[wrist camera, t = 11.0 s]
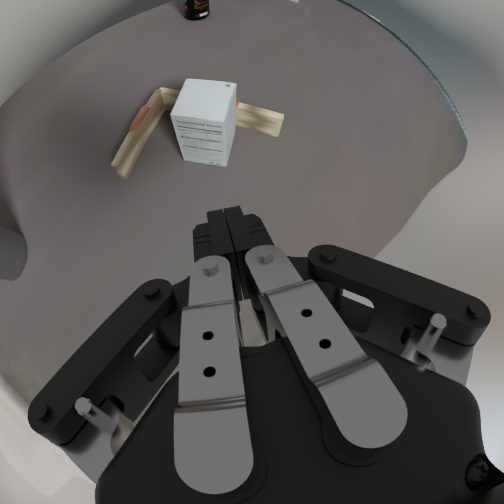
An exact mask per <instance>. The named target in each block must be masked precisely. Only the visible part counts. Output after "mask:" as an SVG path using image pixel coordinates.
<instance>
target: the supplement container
mask: <svg viewBox="0 0 504 504" xmlns="http://www.w3.org/2000/svg"><path fill="white" fill-rule="evenodd" d="M183 6H184V15H185V18H187V19H188V20H201V19H204V18H206V17H207V16H208V15H209V13H210V12H209V0H183Z"/></svg>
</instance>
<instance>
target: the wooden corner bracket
mask: <svg viewBox="0 0 504 504" xmlns="http://www.w3.org/2000/svg"><path fill="white" fill-rule="evenodd" d="M180 91H181V90H176V89H169V88H162V87H161V88H160V89H159V90H158V89H156V90H155V92H154V93H153V95H152V96H151V98H150V99H149V101H148V102H147V104H146V105H145V106H142V108H141V109H140V111H139V113H138V114H137V116H136V117H135V119H134V121H133V122H132V124H131V126H130V127H129V133H128V134H127V136H126V138H125V140H124V141H123V143H122V145H121V147H120V149H119V151H118V152H117V154H116V156H115V158H114V160H113V162H112V164H111V165H112V167H113V168H114V169H115V171H116V172H117V173H118V174H119V176H120V177H121V178H122V179H126V180H128V178H129V176H130V173H131V171H132V169H133V167H134V165H135V163H136V161H137V159H138V158H139V156H140V154H141V152H142V150H143V148H144V146H145V144H146V142H147V141H148V139H149V137H150V135H151V133H152V132H153V130H154V128H155V126H156V125H157V123H158V121H159V120H160V118H161V116H162V114H163V113H164V111H165V110H171V111H172V109H173V107H174V105H175V102H176V100H177V98H178V96H179V93H180ZM283 119H284V115H283V114H280V113H276V112H273V111H270V110H266V109H263V108H259V107H255V106H252V105H248V104H244V103H240V100H237V99H236V115H235V125H238V126H241V127H245V128H249V129H252V130H256V131H259V132H263V133H266V134H269V135H273V136H276V137H278V135H279V133H280V129H281V126H282V122H283Z"/></svg>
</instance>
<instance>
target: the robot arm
mask: <svg viewBox="0 0 504 504" xmlns="http://www.w3.org/2000/svg"><path fill="white" fill-rule="evenodd" d="M224 215H225V217H224ZM207 218H208V223H204V224H199V225H197V226H196V227H195V229H194V230H193V244H194V245H193V246H194V262H195V263H194V264H193V265H192V267H191V270H190V276H189V277H188V278H186V279H185V280H183V281H181V282H179V283H177V284H175V285H173V286H171V284H170V282H168V281H167V280H164V279H154V280H150V281H147V282H145V283H144V284H142V285H141V286H140V287H138V288H137V289H136V290H135V291H134V292H133V293H132V294H131V295H130V296H129V297H128V298H127V299H126V300H125V301H124V302H123V303H122V304H121V305H120V306H119V307H118V308H117V309H116V310H115V311H114V312H113V313H112V314H111V315H110V316H109V317H108V318H107V319H106V320H105V321H104V322H103V323H102V325H101V326H100V327H99V328H98V329H97V330H96V331H95V332H94V333H93V334H92V335H91V336H90V337H89V338H88V339H87V340H86V341H85V342H84V343H83V344H82V345H81V347H80V348H79V349H78V350H77V351H76V352H75V353H74V354H73V355H72V356H71V357H70V358H69V360H68V361H67V362H66V363H65V364H64V365H63V366H62V367H61V368H60V369H59V371H58V372H57V373H56V374H55V375H54V376H53V377H52V378H51V380H50V381H49V382H48V383H47V384H46V385H45V386H44V388H43V389H42V390H41V391H40V392H39V393H38V395H37V396H36V397H35V398H34V399H33V401H32V402H31V404H30V406H29V410H28V421H29V424H30V426H31V428H32V429H33V430H34V431H35V432H37V433H39V434H40V435H42V436H43V437H45V438H46V439H48V440H49V441H50V442H51V443H53V444H54V445H56V446H58V447H59V448H61V449H62V450H63V451H64V452H65V453H66V454H67V455H68V456H69V458H70V459H71V460H72V461H73V462H74V463H75V464H76V465H77V466H78V467H79V468H80V469H81V470H82V471H83V472H84V473H85V474H86V475H87V476H88V477H89V478H90V479H91V480H92V481H93V482H94V483H95V484H96V489H95V503H96V504H504V473H503V472H501V471H500V470H499V469H497V468H496V467H495V466H494V465H493V464H492V463H491V462H490V461H489V459H488V458H487V456H486V454H485V450H484V446H483V441H482V434H481V419H480V410H479V407H478V404H477V401H476V399H475V397H474V396H473V394H472V393H471V392H470V391H469V390H468V389H467V388H466V387H465V385H466V381H467V377H468V372H469V368H470V364H471V359H472V353H473V348H474V345H475V344H476V343H477V341H478V340H479V338H480V337H481V335H482V334H483V332H484V330H485V329H486V327H487V326H488V324H489V322H490V319H491V314H490V311H489V309H488V307H487V306H486V305H485V303H483V302H482V301H481V300H480V299H478V298H476V297H473V296H471V295H469V294H466V293H464V292H461V291H458V290H456V289H453V288H451V287H448V286H446V285H443V284H440V283H438V282H435V281H432V280H430V279H427V278H424V277H422V276H419V275H416V274H414V273H411V272H408V271H405V270H403V269H400V268H397V267H395V266H392V265H389V264H386V263H383V262H381V261H378V260H375V259H372V258H369V257H367V256H364V255H361V254H358V253H355V252H352V251H349V250H346V249H343V248H340V247H337V246H334V245H319V246H316V247H314V248H312V249H311V250H310V251H309V253H308V257H290V256H286V254H285V253H284V252H283V250H282V249H280V248H279V247H277V246H274V244H273V242H272V240H271V238H270V236H269V234H268V232H267V230H266V228H265V226H264V225H263V222H262V220H261V218H259V217H258V216H256V215H254V214H249V215H243V213H242V210H241V208H240V206H234V207H229V208H224V213H223V210H222V209H219V210H214V211H209V212H207ZM26 256H27V247H26V243H25V240H24V238H23V236H22V235H21V234H19V233H17V232H15V231H13V230H10V229H8V228H6V227H4V226H2V225H0V279H5V280H14V279H16V278H17V277H18V276H19V275H20V274H21V272H22V271H23V268H24V266H25V262H26ZM240 286H241V288H240ZM241 289H242V293H243V296H244V300H246V299H251V303H252V309H253V314H254V317H255V319H256V322H257V324H258V326H259V329H260V331H261V334H262V336H263V338H264V341H265V343H266V345H263V346H258V347H244V340H243V333H242V327H241V319H240V314H239V312H240V305H239V301H241V300H243V299H242V293H241ZM343 289H345V290H348V291H350V292H353V293H355V294H357V295H360V296H362V297H365V298H367V299H369V300H370V301H371V302H372V303H373V305H374V308H371V307H369V306H366V305H364V304H361V303H359V302H356V301H354V300H351V299H349V298H347V297H344V296H342V294H343ZM151 333H152V334H153V337H152V338H151V339H150V340H149V341H148V342H147V344H146V345H145V346H144V347H143V348H142V349H141V351H140V352H139V353H138V354H137V355H136V356H135V358H134V355H135V352H136V350H137V349H138V348H139V347H140V346H141V344H142V343H143V342H144V341H145V340H146V339H147V338H148V336H149V335H150V334H151ZM178 364H179V372H177V373H176V374H175V375H174V376H172V377H171V378H170V379H169V381H168V382H167V383H166V384H165V385H164V387H163V388H162V390H161V391H160V392H159V394H158V395H157V397H156V398H155V399H154V401H153V402H152V404H151V405H150V407H149V408H148V409H147V411H146V412H145V414H144V415H143V416H142V418H141V419H140V421H139V422H138V424H137V425H136V426H135V428H134V425H133V423H134V421H135V420H136V419H137V417H138V416H139V415H140V414H141V412H142V411H143V410H144V408H145V407H146V406H147V404H148V403H149V402H150V401H151V399H152V398H153V397H154V395H155V394H156V393H157V391H158V390H159V389H160V387H161V386H162V385H163V384H164V382H165V381H166V380H167V378H168V377H169V376H170V374H171V373H172V372H173V370H174V369H175V368H176V366H177V365H178Z"/></svg>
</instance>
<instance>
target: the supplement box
mask: <svg viewBox="0 0 504 504" xmlns="http://www.w3.org/2000/svg"><path fill="white" fill-rule="evenodd" d="M236 85H237V84H236V83H230V82H222V81H212V80H201V79H186V81H185V83H184V85H183V87H182V89H181V91H180V93H179V96H178V98H177V100H176V102H175V105H174V107H173V109H172V112H171V114H170V116H171V119H172V123H173V126H174V130H175V133H176V136H177V140H178V143H179V146H180V150H181V153H182V156H183V159H184V160H185V161H191V162H198V163H205V164H211V165H217V166H224V167H226V166H227V162H228V159H229V155H230V151H231V147H232V143H233V139H234V135H235V115H236Z"/></svg>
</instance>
